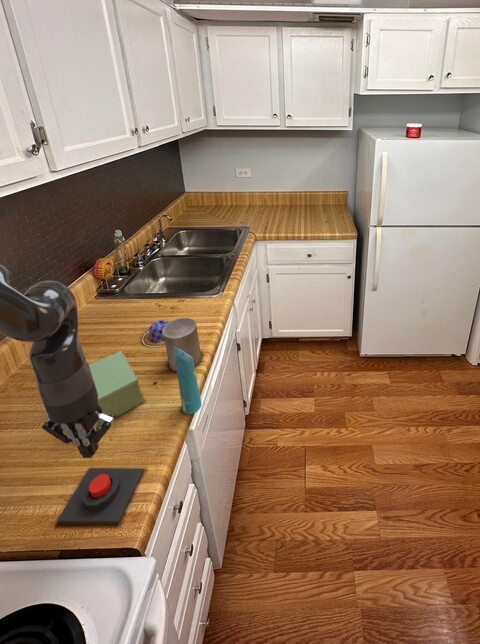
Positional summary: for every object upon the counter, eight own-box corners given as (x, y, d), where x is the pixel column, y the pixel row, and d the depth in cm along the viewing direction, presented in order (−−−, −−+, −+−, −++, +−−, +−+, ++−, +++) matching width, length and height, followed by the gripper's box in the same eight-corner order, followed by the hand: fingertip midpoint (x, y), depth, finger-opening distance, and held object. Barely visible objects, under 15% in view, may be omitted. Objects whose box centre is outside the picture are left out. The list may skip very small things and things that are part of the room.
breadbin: (143, 404, 91) (137, 379, 88) (94, 431, 84) (85, 406, 80) (127, 376, 100) (121, 352, 97) (82, 398, 93) (73, 374, 90)
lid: (138, 381, 87) (137, 379, 87) (86, 408, 80) (85, 405, 80) (121, 352, 97) (121, 350, 97) (73, 374, 90) (72, 371, 89)
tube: (208, 406, 91) (200, 351, 84) (195, 421, 87) (185, 363, 80) (189, 396, 94) (179, 341, 87) (175, 409, 90) (164, 353, 83)
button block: (58, 526, 65) (53, 515, 64) (91, 473, 74) (87, 462, 73) (119, 526, 65) (116, 515, 64) (144, 473, 74) (141, 462, 73)
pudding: (183, 339, 116) (181, 327, 114) (146, 353, 109) (143, 340, 107) (175, 322, 125) (173, 310, 123) (140, 333, 119) (137, 321, 117)
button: (86, 498, 67) (84, 492, 66) (97, 479, 70) (95, 474, 70) (104, 498, 67) (102, 492, 66) (114, 479, 70) (112, 474, 70)
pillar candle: (198, 348, 112) (193, 310, 106) (204, 367, 104) (198, 328, 98) (167, 357, 108) (160, 319, 102) (170, 378, 100) (162, 338, 94)
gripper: (13, 405, 56) (42, 473, 62) (92, 405, 56) (114, 473, 62) (46, 371, 63) (69, 436, 69) (116, 371, 63) (133, 435, 69)
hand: (90, 453), depth 66 cm, fingers closed
